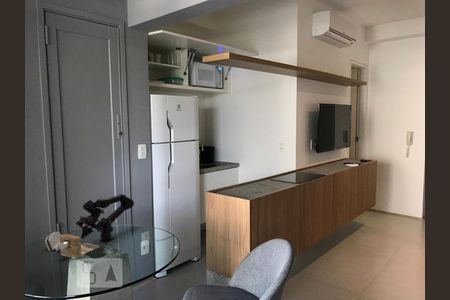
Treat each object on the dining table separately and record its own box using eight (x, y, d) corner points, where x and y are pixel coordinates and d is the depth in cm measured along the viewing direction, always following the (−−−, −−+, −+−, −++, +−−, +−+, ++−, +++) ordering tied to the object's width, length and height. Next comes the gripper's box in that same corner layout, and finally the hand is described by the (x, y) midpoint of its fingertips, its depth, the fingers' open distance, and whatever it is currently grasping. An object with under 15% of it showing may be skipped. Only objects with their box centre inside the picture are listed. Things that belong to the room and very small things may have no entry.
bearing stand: (85, 244, 224) (83, 226, 223) (99, 248, 218) (98, 229, 216) (61, 255, 209) (59, 235, 207) (76, 259, 202) (74, 239, 201)
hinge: (56, 250, 216) (49, 237, 214) (49, 253, 215) (42, 240, 214) (66, 240, 232) (59, 228, 231) (59, 243, 232) (53, 230, 230)
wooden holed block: (73, 243, 211) (72, 236, 210) (78, 245, 209) (78, 237, 208) (57, 250, 201) (56, 242, 201) (62, 251, 199) (62, 243, 198)
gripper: (76, 209, 220) (63, 230, 212) (96, 212, 212) (83, 235, 203) (87, 216, 228) (75, 238, 220) (107, 220, 220) (95, 242, 211)
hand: (81, 238), depth 214 cm, fingers closed
